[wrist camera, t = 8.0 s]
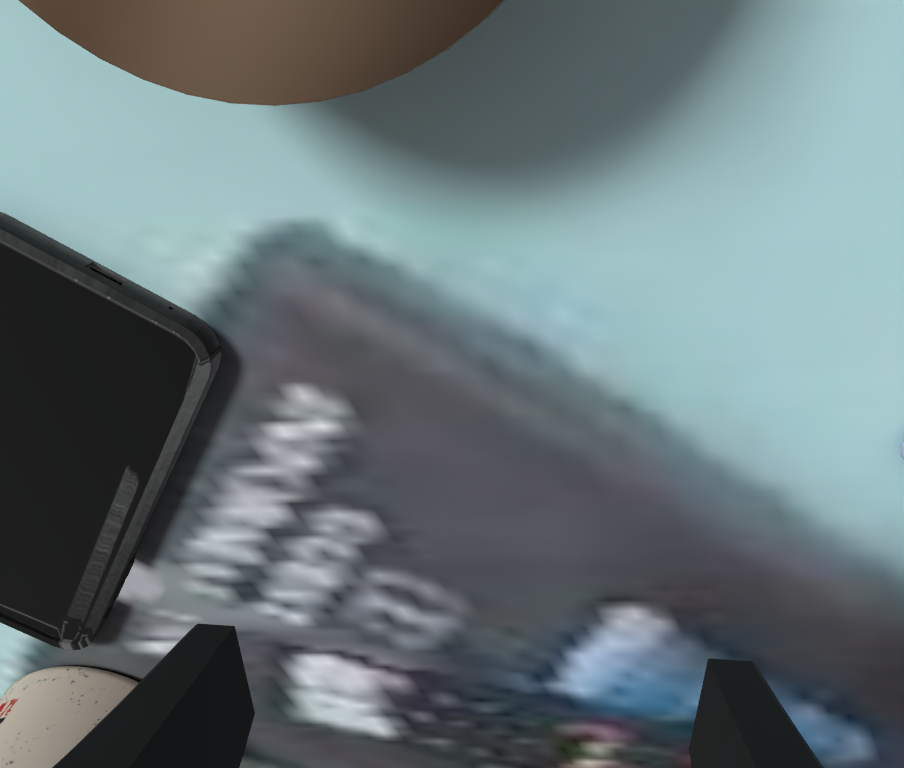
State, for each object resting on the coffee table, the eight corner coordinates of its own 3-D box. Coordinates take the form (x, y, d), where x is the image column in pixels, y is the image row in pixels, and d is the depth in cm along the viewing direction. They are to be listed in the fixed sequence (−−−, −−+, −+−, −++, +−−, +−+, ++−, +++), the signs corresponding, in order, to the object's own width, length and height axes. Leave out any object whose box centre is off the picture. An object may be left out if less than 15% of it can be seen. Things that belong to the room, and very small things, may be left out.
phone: (-126, 566, 25) (-58, 198, 18) (-100, 545, 26) (-27, 188, 19) (86, 660, 26) (226, 349, 19) (103, 636, 27) (241, 332, 20)
